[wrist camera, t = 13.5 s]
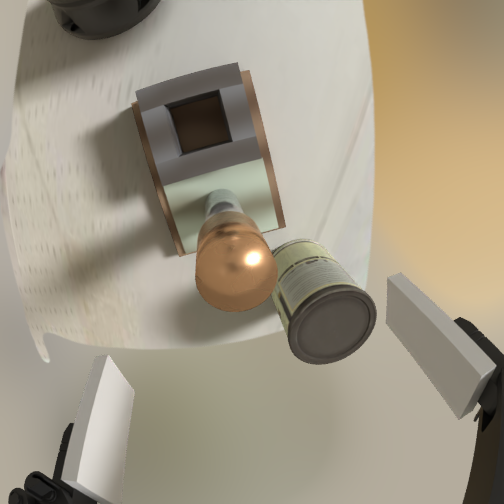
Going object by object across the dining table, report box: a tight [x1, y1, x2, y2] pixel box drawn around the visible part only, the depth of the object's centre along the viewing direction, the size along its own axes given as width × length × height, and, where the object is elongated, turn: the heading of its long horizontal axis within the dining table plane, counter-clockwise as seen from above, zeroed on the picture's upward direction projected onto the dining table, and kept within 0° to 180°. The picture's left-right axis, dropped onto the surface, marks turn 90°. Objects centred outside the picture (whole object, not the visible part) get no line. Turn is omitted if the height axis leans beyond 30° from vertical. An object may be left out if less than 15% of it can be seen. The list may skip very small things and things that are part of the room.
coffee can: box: [271, 239, 377, 365], centre depth 36 cm, size 10×10×14 cm
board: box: [131, 62, 286, 257], centre depth 31 cm, size 20×14×8 cm
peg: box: [195, 189, 278, 312], centre depth 27 cm, size 5×5×18 cm
